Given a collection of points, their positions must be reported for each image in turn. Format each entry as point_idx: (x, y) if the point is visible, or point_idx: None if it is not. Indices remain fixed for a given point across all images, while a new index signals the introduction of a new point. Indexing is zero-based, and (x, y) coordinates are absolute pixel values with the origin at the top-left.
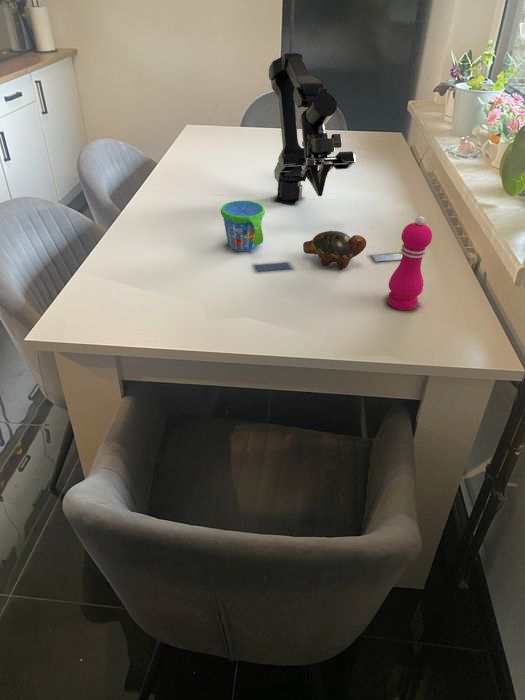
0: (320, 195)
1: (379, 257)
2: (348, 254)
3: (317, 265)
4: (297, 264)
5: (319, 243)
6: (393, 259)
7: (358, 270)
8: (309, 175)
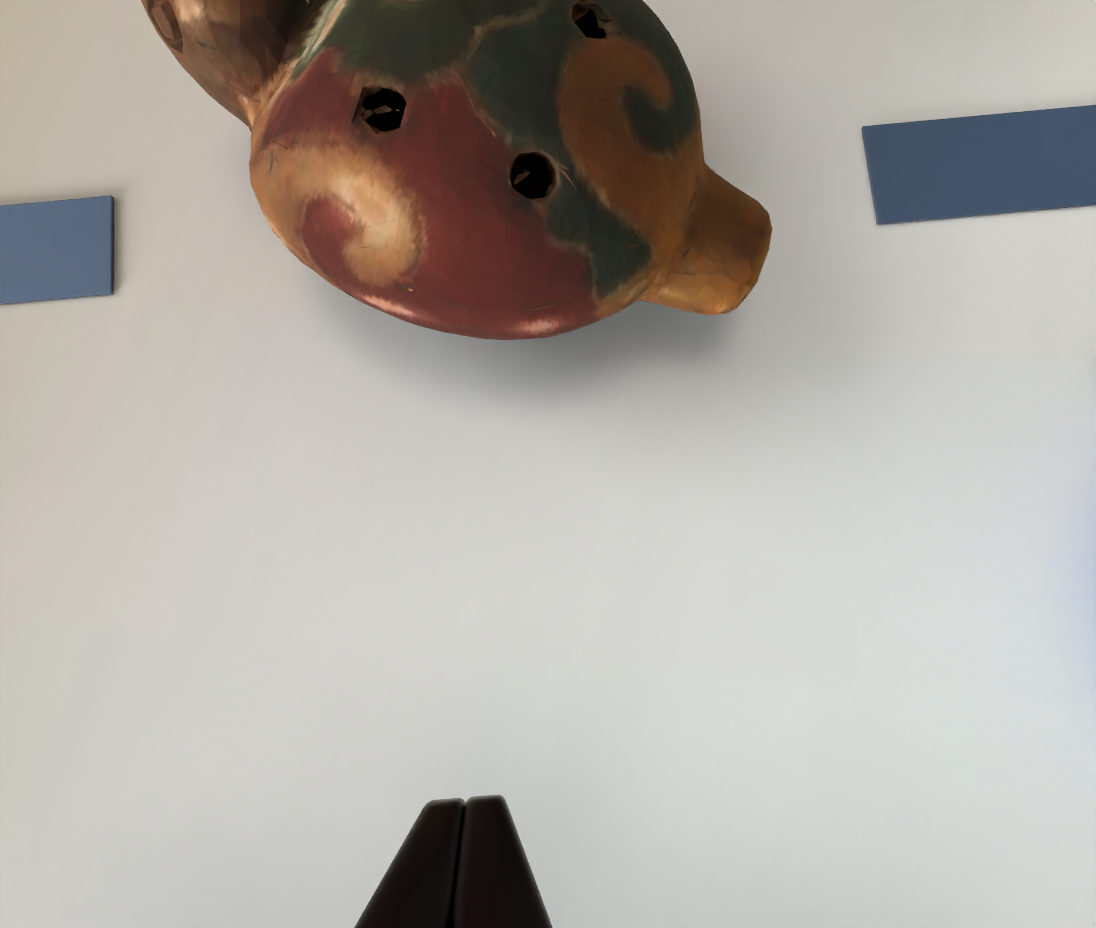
0: (469, 807)
1: (53, 260)
2: None
3: None
4: (792, 198)
5: (653, 16)
6: None
7: None
8: None
